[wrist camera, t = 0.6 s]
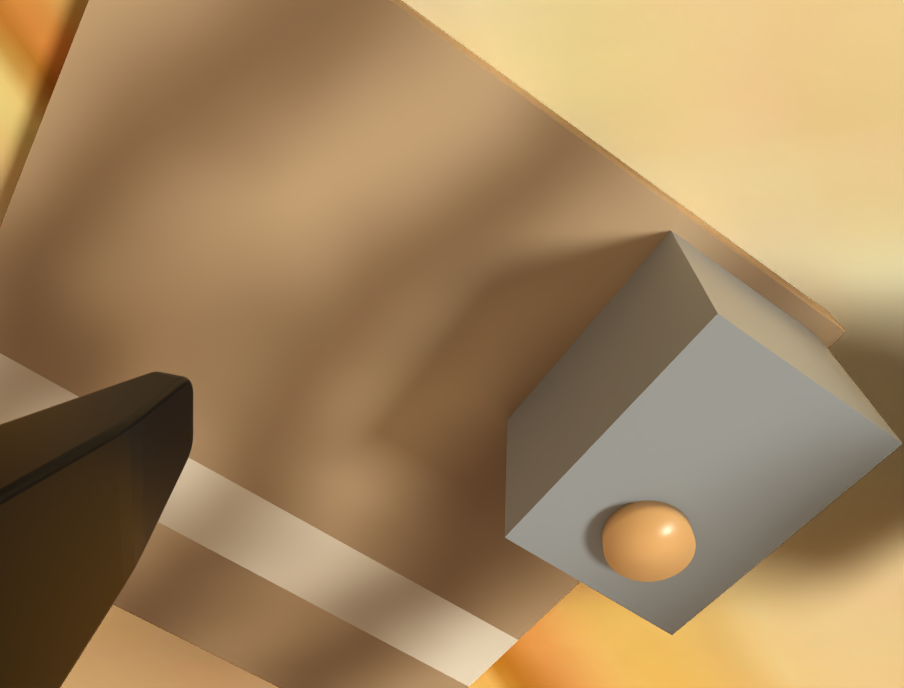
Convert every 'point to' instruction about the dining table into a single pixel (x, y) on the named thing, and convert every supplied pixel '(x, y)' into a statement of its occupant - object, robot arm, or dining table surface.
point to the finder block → (683, 440)
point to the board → (324, 316)
